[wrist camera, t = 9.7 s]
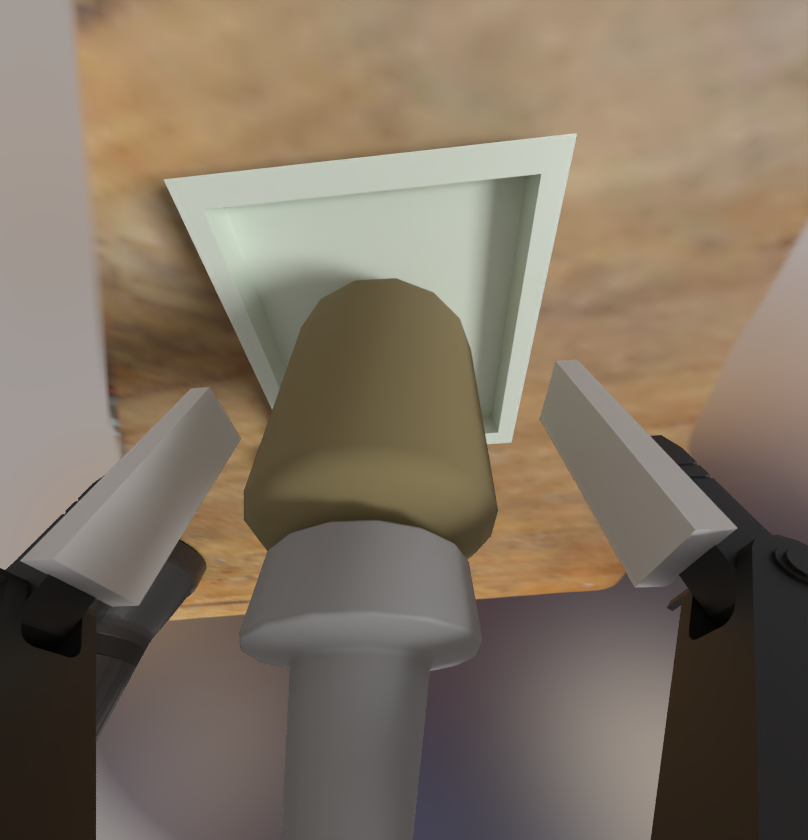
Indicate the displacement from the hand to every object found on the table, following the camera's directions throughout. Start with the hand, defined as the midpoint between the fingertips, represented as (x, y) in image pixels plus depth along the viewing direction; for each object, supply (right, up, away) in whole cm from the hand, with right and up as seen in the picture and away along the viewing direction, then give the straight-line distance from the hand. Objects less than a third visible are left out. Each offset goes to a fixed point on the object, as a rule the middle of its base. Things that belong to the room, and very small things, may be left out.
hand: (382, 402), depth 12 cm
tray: (0, +5, +6) cm, 7 cm away
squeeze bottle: (0, +4, +5) cm, 7 cm away
